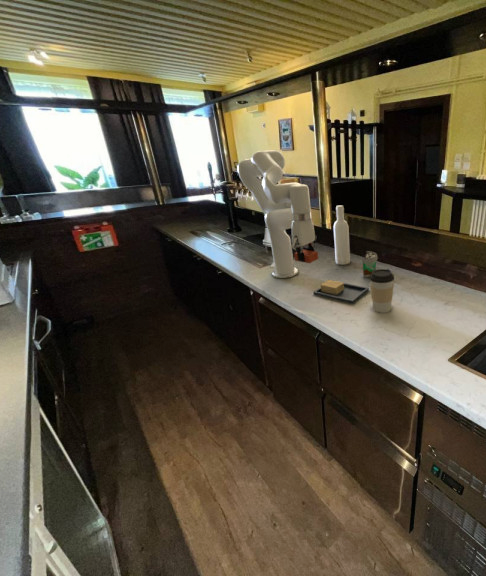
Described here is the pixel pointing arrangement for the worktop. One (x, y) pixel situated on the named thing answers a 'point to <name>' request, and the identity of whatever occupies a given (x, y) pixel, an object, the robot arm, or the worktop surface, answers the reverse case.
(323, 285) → the pad
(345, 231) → the bottle
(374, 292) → the coffee cup
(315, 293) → the tray
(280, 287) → the worktop surface
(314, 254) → the pad
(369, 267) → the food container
